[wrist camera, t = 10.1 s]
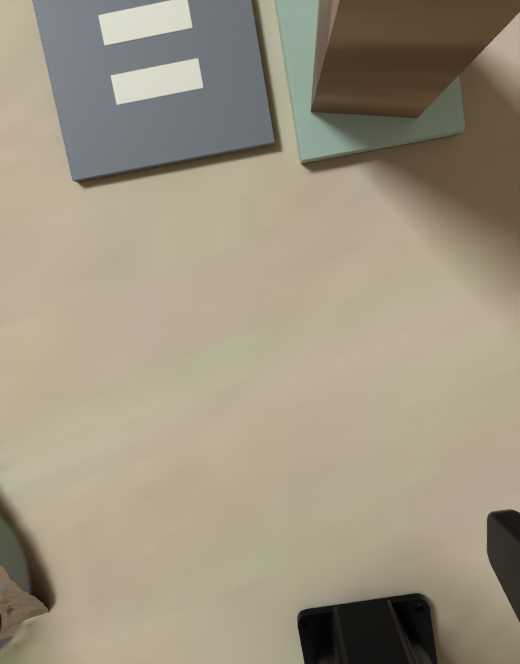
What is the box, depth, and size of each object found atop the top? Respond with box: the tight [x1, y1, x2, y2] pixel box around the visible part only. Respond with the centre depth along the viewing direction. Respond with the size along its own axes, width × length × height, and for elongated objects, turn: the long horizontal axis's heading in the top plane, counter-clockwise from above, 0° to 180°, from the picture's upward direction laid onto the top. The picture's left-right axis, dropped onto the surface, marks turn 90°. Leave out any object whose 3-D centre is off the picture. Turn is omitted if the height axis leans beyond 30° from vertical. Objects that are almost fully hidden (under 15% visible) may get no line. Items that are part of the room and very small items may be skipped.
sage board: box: [275, 0, 466, 164], centre depth 19 cm, size 7×7×1 cm
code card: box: [32, 0, 275, 182], centre depth 19 cm, size 9×9×1 cm
